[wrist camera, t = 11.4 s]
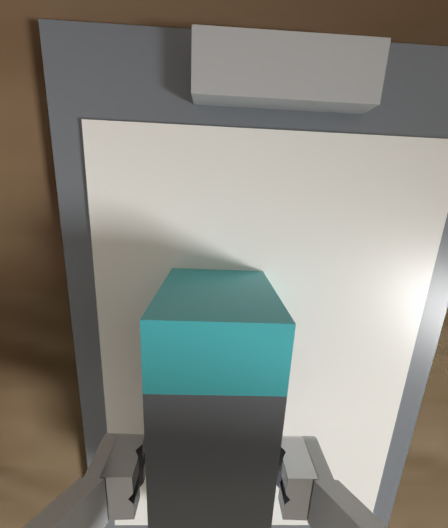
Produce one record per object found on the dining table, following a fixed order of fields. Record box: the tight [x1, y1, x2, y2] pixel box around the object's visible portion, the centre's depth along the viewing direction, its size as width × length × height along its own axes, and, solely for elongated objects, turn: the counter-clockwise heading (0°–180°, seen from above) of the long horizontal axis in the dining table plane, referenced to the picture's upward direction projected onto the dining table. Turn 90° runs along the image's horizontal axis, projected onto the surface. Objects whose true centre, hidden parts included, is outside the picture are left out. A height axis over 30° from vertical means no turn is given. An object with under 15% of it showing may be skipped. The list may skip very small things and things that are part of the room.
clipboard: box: [38, 19, 448, 528], centre depth 11 cm, size 16×23×2 cm
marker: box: [140, 268, 296, 528], centre depth 10 cm, size 13×4×4 cm, turn 177°
